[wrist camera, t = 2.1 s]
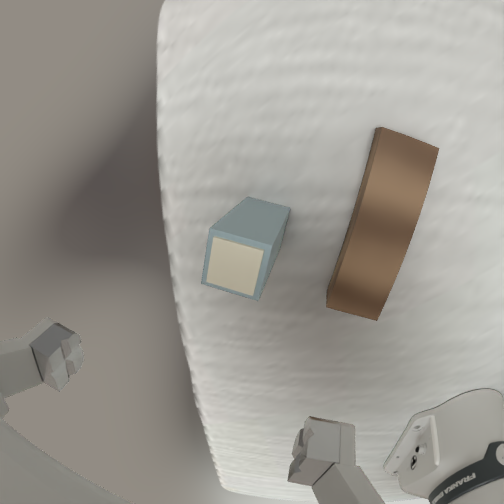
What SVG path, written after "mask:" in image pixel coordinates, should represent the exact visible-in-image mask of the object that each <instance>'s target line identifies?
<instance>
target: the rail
mask: <svg viewBox="0 0 504 504" xmlns="http://www.w3.org/2000/svg"><path fill="white" fill-rule="evenodd" d="M438 151H439V148H437V147H435V146H432V145H430V144H427V143H425V142H422V141H420V140H417V139H414V138H412V137H409V136H406V135H404V134H401V133H398V132H395V131H392V130H389V129H387V128H384V127H379V128H376V130H375V134H374V138H373V142H372V146H371V150H370V154H369V158H368V161H367V165H366V169H365V172H364V176H363V180H362V183H361V187H360V190H359V194H358V197H357V201H356V204H355V207H354V211H353V214H352V217H351V221H350V224H349V227H348V230H347V233H346V236H345V240H344V243H343V246H342V249H341V252H340V255H339V258H338V261H337V264H336V267H335V270H334V272H333V275H332V278H331V281H330V284H329V287H328V290H327V301H326V307H327V308H331V309H335V310H338V311H342V312H346V313H350V314H353V315H357V316H361V317H365V318H368V319H372V320H376V321H377V320H378V317H379V315H380V313H381V311H382V309H383V307H384V304H385V302H386V300H387V298H388V295H389V293H390V291H391V289H392V286H393V284H394V281H395V279H396V277H397V274H398V272H399V269H400V267H401V264H402V262H403V259H404V257H405V254H406V252H407V249H408V246H409V244H410V241H411V238H412V235H413V233H414V230H415V227H416V224H417V221H418V218H419V215H420V212H421V209H422V206H423V203H424V200H425V197H426V194H427V190H428V187H429V184H430V180H431V177H432V173H433V170H434V166H435V163H436V159H437V155H438Z"/></svg>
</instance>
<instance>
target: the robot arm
mask: <svg viewBox="0 0 504 504" xmlns="http://www.w3.org/2000/svg"><path fill="white" fill-rule="evenodd" d="M80 343H81V338H80V335H79V334H77V333H75V332H74V331H72V330H70V329H68V328H67V327H65V326H63V325H61V324H60V323H58V322H56V321H54V320H53V319H51V318H49V317H48V318H44V319H43V320H42V321H41V322H40V323H38V324H37V325H36V326H35V327H34V328H32V329H31V330H30V331H29V332H27V333H26V334H25V335H24V336H23V337H22V338H20V339H18V338H13V339H9V340H4V341H0V504H135V503H133V502H131V501H129V500H126V499H124V498H122V497H120V496H118V495H116V494H114V493H112V492H110V491H108V490H106V489H104V488H102V487H101V486H99V485H97V484H95V483H93V482H92V481H90V480H88V479H86V478H84V477H83V476H81V475H79V474H78V473H76V472H74V471H73V470H71V469H69V468H68V467H66V466H65V465H63V464H62V463H60V462H59V461H57V460H56V459H54V458H53V457H51V456H50V455H48V454H47V453H45V452H44V451H42V450H41V449H40V448H38V447H37V446H35V445H34V444H33V443H31V442H30V441H29V440H28V439H26V438H25V437H24V436H22V435H21V434H20V433H18V432H17V431H16V430H15V429H14V428H12V427H11V426H10V425H9V424H8V423H6V422H5V421H4V420H3V417H4V416H5V415H6V414H7V413H8V412H9V407H8V405H7V403H6V401H5V400H4V398H6V397H9V396H12V395H14V394H16V393H19V392H22V391H24V390H27V389H29V388H32V387H34V386H37V385H39V384H42V383H43V382H44V383H45V384H47V385H49V386H50V387H52V388H54V389H55V390H57V391H59V392H60V391H61V390H62V389H63V388H64V386H65V385H66V384H67V383H68V382H69V375H72V374H76V373H77V372H78V370H79V369H80V368H81V366H82V363H83V359H84V354H83V350H82V349H81V347H80V345H79V344H80ZM292 455H293V457H294V460H293V462H292V463H291V465H290V469H289V475H288V482H293V483H298V484H303V485H308V486H312V489H313V492H314V494H315V496H316V498H317V500H318V503H319V504H385V503H384V501H383V500H382V498H381V497H380V495H379V494H378V492H377V491H376V490H375V488H374V487H373V485H372V484H371V482H370V481H369V479H368V478H367V476H366V475H365V474H364V472H363V471H362V469H361V468H360V466H355V426H354V425H353V424H347V423H342V422H338V421H332V420H327V419H321V418H316V417H311V416H309V417H308V418H307V420H306V421H305V424H304V428H303V429H301V430H300V431H299V433H298V435H297V437H296V439H295V442H294V446H293V451H292ZM383 468H384V471H385V472H387V473H389V474H391V475H395V476H398V477H399V484H400V487H401V489H402V490H403V491H404V492H406V493H408V494H411V495H415V496H418V497H422V498H425V499H428V500H429V502H430V504H504V400H503V397H502V395H501V394H500V393H499V392H498V391H496V390H492V389H479V390H474V391H470V392H467V393H464V394H462V395H459V396H457V397H455V398H453V399H451V400H449V401H447V402H446V403H444V404H442V405H440V406H439V407H436V408H434V409H431V410H427V411H424V412H421V413H418V414H416V415H414V416H413V417H412V418H411V420H410V422H409V424H408V426H407V427H406V429H405V431H404V433H403V434H402V436H401V438H400V439H399V441H398V443H397V444H396V446H395V448H394V449H393V451H392V453H391V454H390V456H389V457H388V459H387V460H386V462H385V464H384V465H383Z"/></svg>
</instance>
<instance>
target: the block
mask: <svg viewBox="0 0 504 504" xmlns="http://www.w3.org/2000/svg"><path fill="white" fill-rule="evenodd" d="M289 212H290V208H289V207H285V206H281V205H277V204H274V203H270V202H266V201H262V200H258V199H254V198H250V197H247V198H246V199H244V200H243V201H242V202H241V203H240V204H238V205H237V206H236V207H235V208H233V209H232V210H231V211H230V212H229V213H227V214H226V215H225V216H224V217H223V218H221V219H220V220H219V221H218V222H217V223H215V224H214V225H213V226H212V227H211V228H210V229H209V236H208V242H207V248H206V255H205V261H204V268H203V274H202V281H201V284H204V285H207V286H211V287H214V288H217V289H220V290H223V291H227V292H230V293H233V294H236V295H240V296H243V297H246V298H250V299H253V300H256V301H258V300H259V298H260V296H261V293H262V291H263V289H264V286H265V284H266V281H267V279H268V277H269V274H270V272H271V269H272V267H273V264H274V262H275V260H276V257H277V255H278V252H279V250H280V247H281V243H282V239H283V235H284V231H285V227H286V224H287V220H288V216H289Z"/></svg>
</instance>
